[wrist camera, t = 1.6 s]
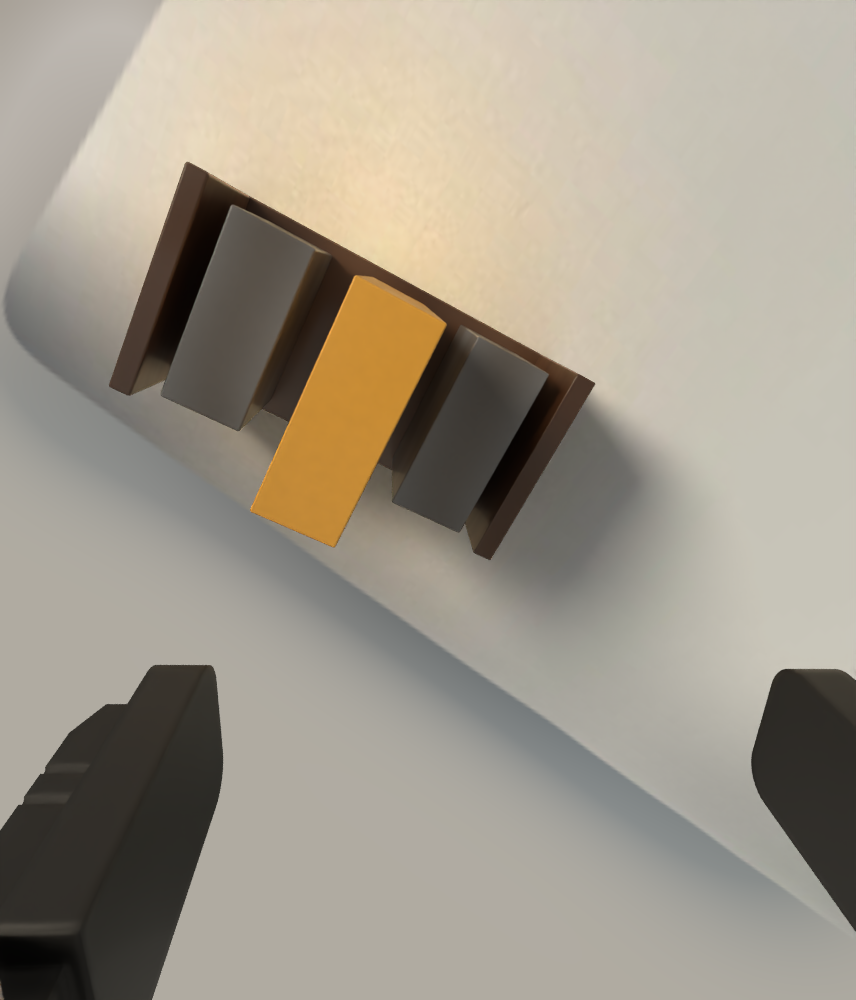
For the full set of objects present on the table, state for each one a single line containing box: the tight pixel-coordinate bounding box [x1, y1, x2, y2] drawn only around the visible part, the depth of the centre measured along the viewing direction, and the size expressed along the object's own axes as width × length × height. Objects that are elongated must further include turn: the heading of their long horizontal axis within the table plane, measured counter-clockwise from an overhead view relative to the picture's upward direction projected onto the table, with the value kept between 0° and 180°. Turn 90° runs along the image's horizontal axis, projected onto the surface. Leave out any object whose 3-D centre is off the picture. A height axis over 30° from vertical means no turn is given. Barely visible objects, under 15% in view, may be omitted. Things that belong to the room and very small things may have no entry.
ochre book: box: [250, 275, 447, 547], centre depth 22 cm, size 3×7×12 cm, turn 153°
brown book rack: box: [109, 162, 595, 560], centre depth 25 cm, size 16×8×7 cm, turn 63°
